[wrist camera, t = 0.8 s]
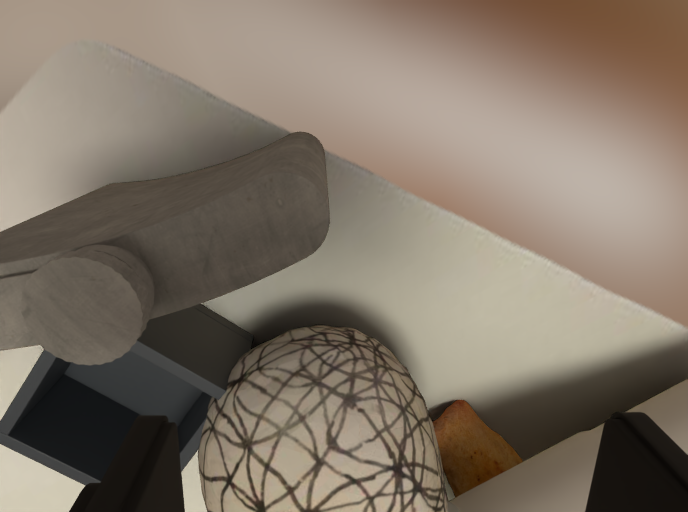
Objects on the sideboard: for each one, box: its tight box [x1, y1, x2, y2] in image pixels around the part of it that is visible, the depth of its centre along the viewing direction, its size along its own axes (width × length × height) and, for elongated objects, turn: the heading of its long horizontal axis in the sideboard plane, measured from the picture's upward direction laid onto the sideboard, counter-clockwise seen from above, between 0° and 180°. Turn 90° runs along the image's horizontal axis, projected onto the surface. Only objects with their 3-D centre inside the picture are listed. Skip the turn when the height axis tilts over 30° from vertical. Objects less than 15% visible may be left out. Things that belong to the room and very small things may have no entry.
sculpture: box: [198, 325, 448, 512], centre depth 33 cm, size 15×20×15 cm
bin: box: [0, 304, 253, 485], centre depth 34 cm, size 11×11×8 cm
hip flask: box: [0, 132, 330, 366], centre depth 25 cm, size 16×4×20 cm, turn 105°
